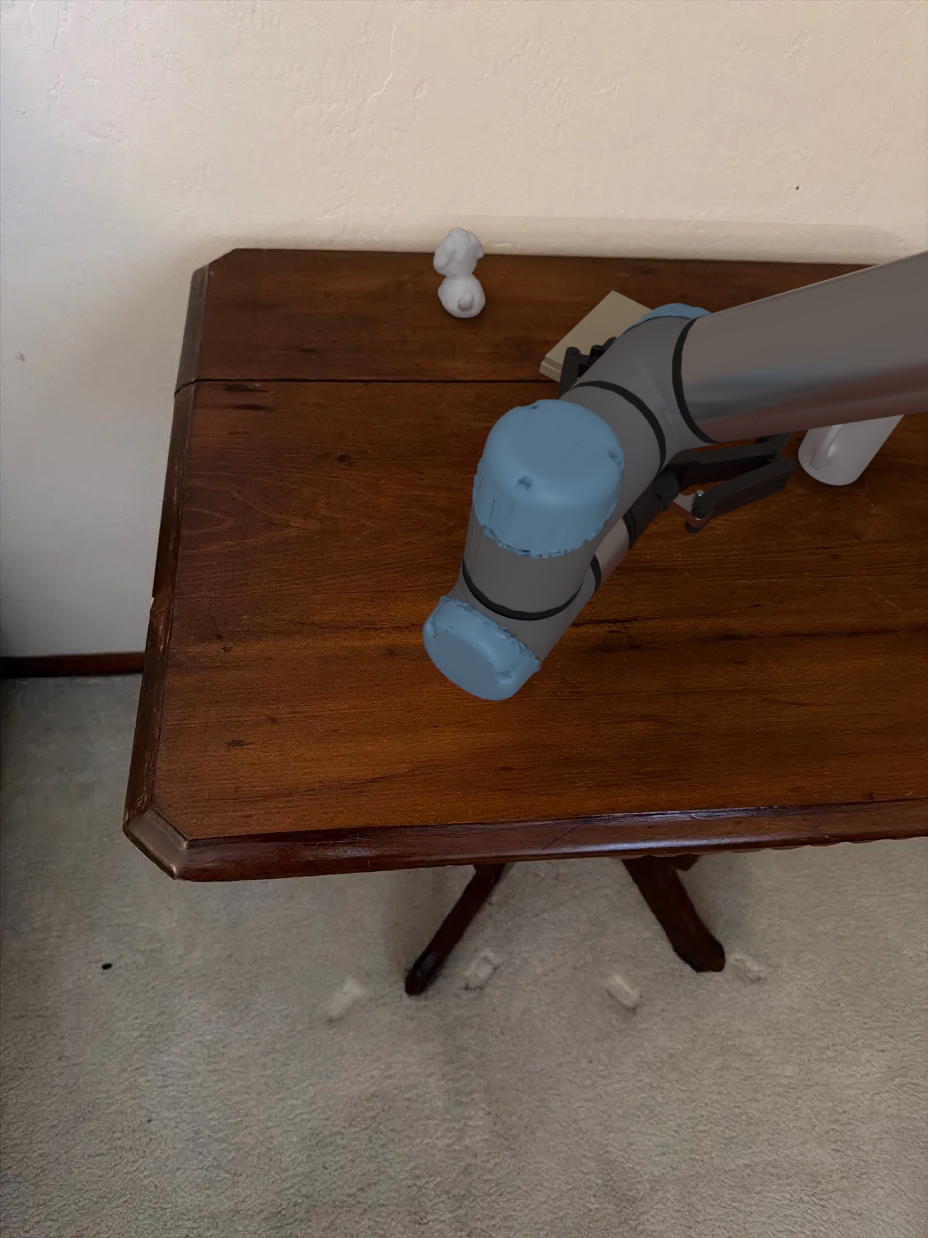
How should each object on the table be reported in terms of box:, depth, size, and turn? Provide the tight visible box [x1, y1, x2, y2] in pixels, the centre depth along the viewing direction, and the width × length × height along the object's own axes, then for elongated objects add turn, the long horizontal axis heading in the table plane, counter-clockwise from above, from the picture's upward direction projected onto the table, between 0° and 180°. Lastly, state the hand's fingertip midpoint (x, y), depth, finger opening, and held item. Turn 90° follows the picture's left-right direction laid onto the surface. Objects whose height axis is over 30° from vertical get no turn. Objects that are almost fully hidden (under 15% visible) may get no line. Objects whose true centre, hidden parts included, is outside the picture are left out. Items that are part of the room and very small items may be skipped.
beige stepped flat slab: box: [538, 290, 653, 384], centre depth 91 cm, size 8×14×2 cm, turn 145°
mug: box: [797, 415, 905, 486], centre depth 80 cm, size 10×7×12 cm, turn 136°
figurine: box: [432, 226, 486, 319], centre depth 90 cm, size 5×8×8 cm
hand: (716, 364), depth 73 cm, fingers open, 13 cm apart
